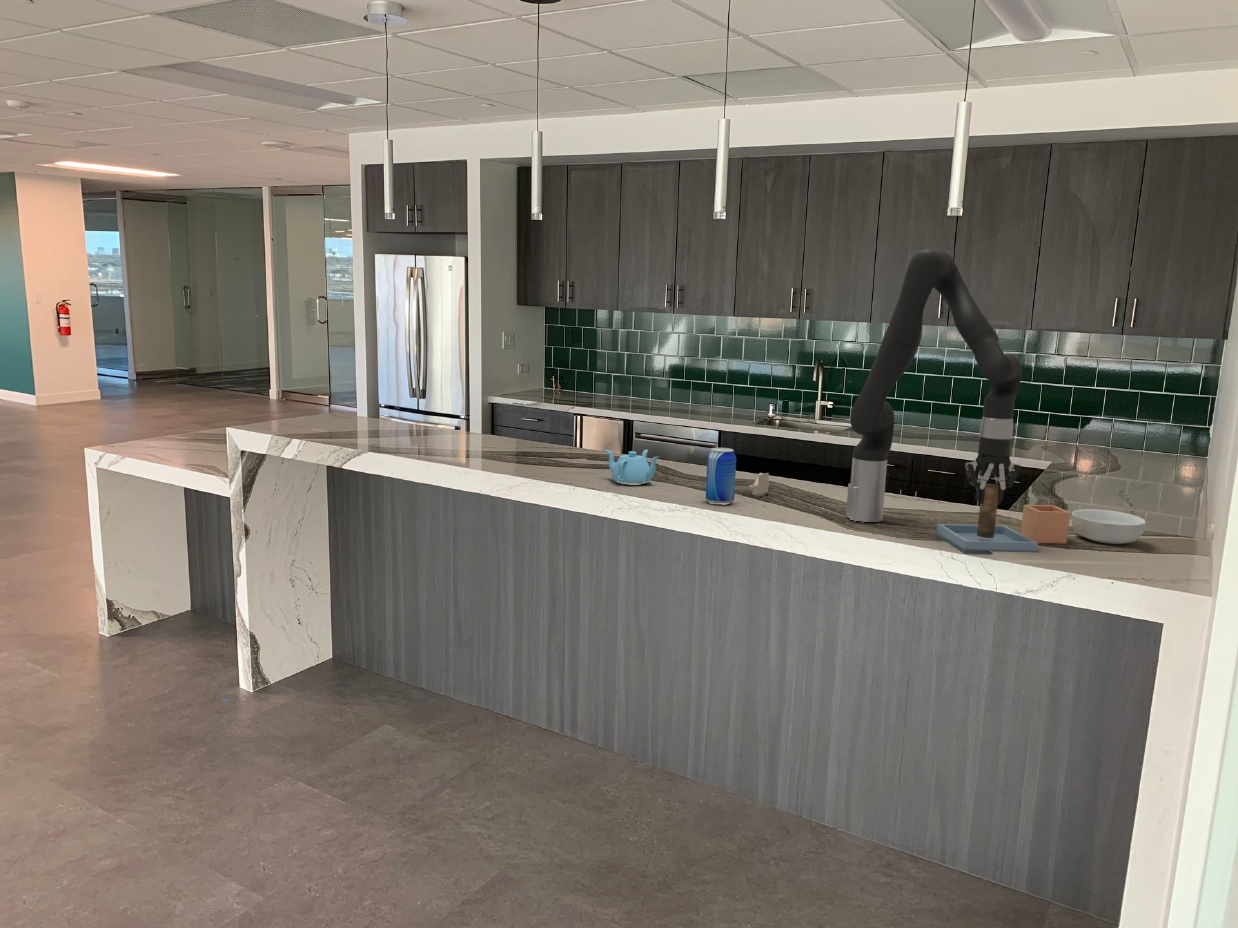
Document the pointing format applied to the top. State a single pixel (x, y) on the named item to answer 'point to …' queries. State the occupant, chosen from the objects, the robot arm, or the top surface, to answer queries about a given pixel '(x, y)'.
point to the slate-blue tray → (985, 539)
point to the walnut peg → (988, 512)
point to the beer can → (721, 475)
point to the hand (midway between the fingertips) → (988, 503)
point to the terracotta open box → (1045, 523)
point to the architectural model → (760, 484)
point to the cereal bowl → (1107, 526)
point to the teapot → (632, 467)
